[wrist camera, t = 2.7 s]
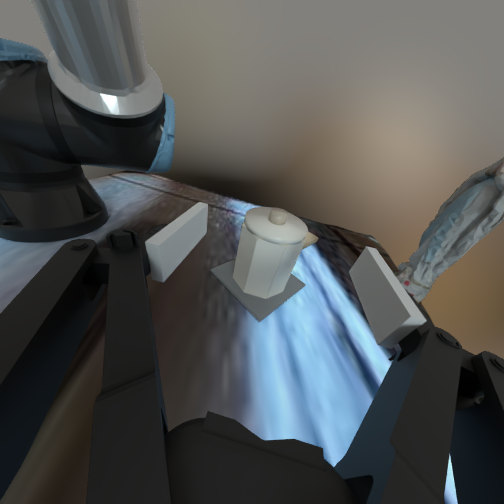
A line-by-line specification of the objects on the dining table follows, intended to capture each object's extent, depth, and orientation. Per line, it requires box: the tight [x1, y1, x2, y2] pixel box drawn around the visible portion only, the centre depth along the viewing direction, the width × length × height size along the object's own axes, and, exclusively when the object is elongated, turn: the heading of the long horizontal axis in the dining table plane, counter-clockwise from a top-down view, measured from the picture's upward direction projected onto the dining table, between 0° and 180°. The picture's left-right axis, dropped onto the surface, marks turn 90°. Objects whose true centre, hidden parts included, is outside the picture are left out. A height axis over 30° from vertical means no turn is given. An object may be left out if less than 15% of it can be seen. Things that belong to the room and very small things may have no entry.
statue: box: [393, 158, 504, 307], centre depth 26 cm, size 8×7×30 cm
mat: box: [210, 259, 306, 322], centre depth 32 cm, size 12×12×1 cm
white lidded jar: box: [233, 207, 308, 299], centre depth 28 cm, size 9×9×12 cm
